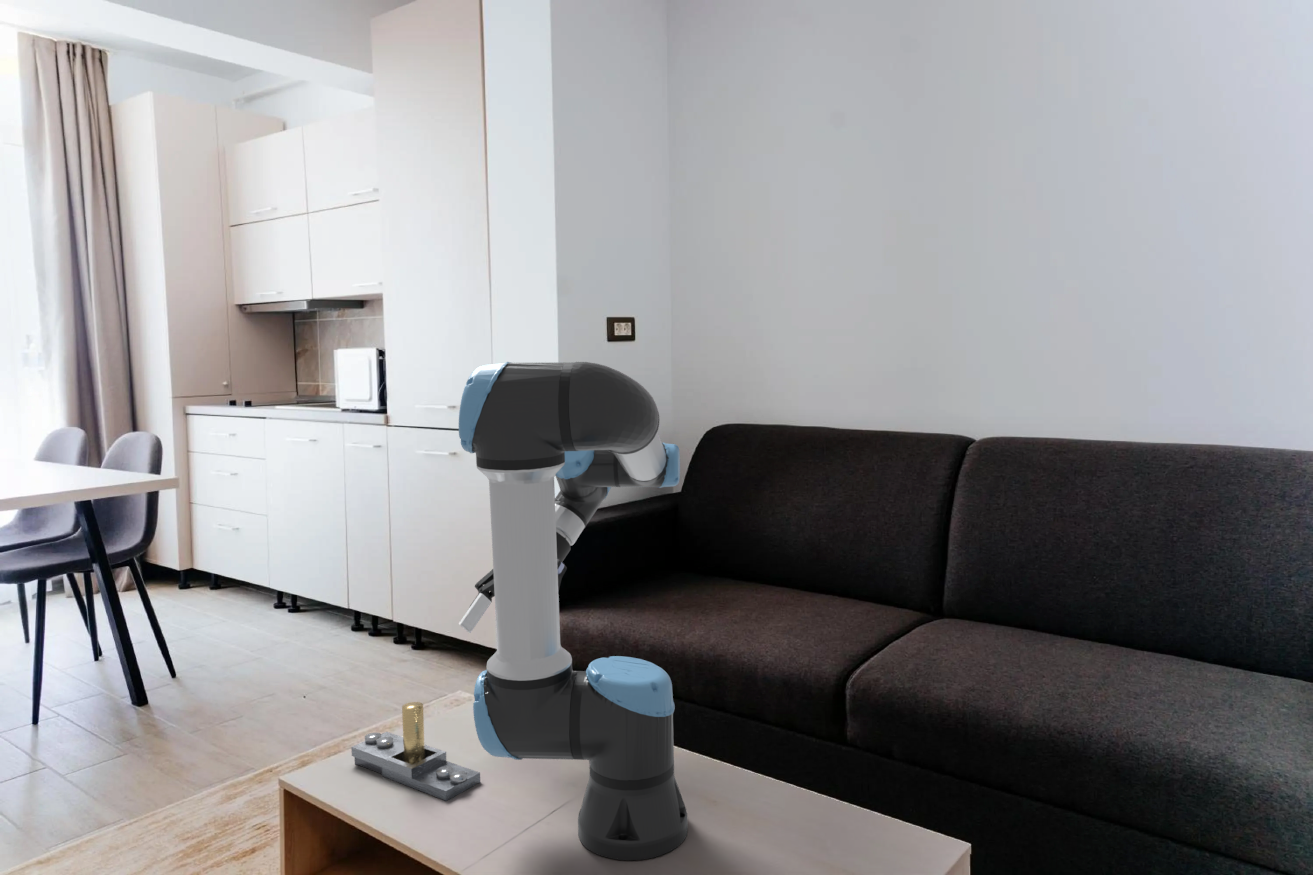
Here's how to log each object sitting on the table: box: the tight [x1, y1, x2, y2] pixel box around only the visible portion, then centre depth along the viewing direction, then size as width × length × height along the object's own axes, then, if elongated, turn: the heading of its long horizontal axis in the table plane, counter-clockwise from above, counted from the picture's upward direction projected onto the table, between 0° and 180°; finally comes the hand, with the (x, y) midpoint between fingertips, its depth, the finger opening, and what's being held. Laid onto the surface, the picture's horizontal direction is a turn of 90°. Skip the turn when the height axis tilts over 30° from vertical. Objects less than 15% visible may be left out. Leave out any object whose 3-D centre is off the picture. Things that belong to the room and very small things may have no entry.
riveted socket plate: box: [350, 731, 481, 802], centre depth 139 cm, size 23×7×4 cm, turn 56°
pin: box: [401, 701, 426, 765], centre depth 139 cm, size 3×3×11 cm
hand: (486, 636), depth 148 cm, fingers open, 13 cm apart
